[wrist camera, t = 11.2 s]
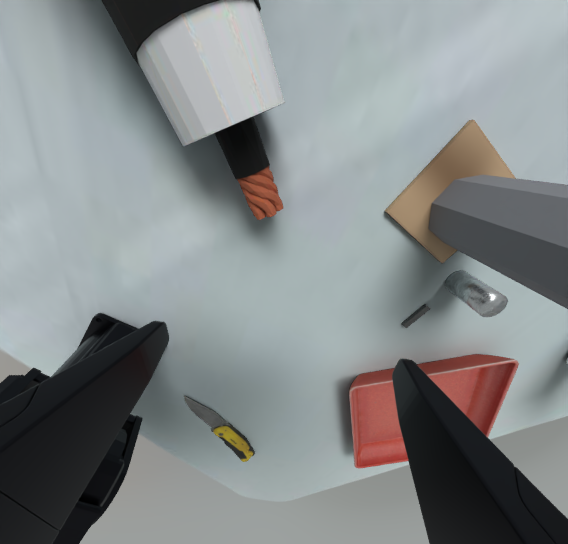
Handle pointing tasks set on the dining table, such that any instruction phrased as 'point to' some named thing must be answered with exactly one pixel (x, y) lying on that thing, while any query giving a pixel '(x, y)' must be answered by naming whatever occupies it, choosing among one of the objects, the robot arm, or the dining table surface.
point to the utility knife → (223, 430)
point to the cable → (209, 78)
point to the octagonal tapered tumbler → (509, 229)
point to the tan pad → (445, 184)
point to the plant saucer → (448, 377)
